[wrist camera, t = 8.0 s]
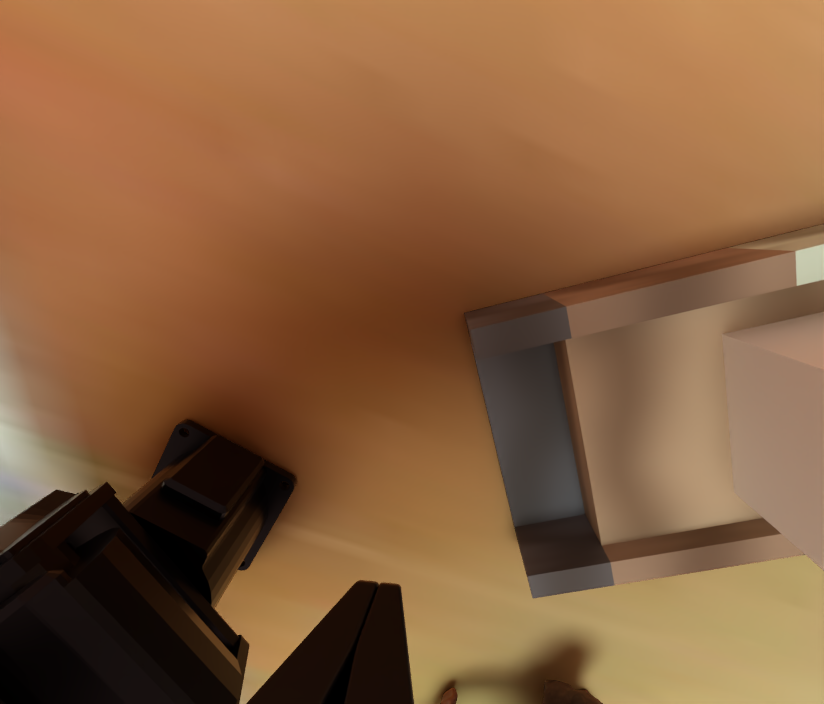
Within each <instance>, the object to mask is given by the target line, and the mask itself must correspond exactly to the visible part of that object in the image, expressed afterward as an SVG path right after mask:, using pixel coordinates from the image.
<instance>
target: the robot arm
mask: <svg viewBox="0 0 824 704" xmlns="http://www.w3.org/2000/svg"><path fill="white" fill-rule="evenodd" d="M184 428H186V429H187V430H188V431H189V434H188V433H186V432H185V431H184ZM283 481H285V482H287V483H288V484H289V486H286V485H284V484H283ZM296 484H297V481H296V478H295V477H294V476H293V475H292V474H290V473H289V472H287V471H285V470H283V469H281V468H279V467H277V466H275V465H274V464H272V463H270V462H268V461H266V460H264V459H262V458H261V457H260V456H258V455H256V454H254V453H252V452H250V451H248V450H247V449H245V448H243V447H241V446H239V445H237V444H235V443H234V442H232V441H230V440H228V439H226V438H224V437H222V436H220V435H217V434H215V433H214V432H212V431H210V430H208V429H206V428H204V427H202V426H200V425H199V424H197V423H195V422H193V421H190V420H184V421H182V422H180V423H179V424H178V425H177V426H176V427H175V428H174V431H173V433H172V435H171V437H170V439H169V441H168V444H167V446H166V448H165V450H164V452H163V455H162V457H161V459H160V461H159V463H158V465H157V468H156V470H155V472H154V474H153V476H152V479H151V480H150V481H149V482H147V483H146V484H145V485H144V486H143V487H142V488H140V489H139V490H138V491H137V492H136V493H135V494H133V495H132V496H131V497H130V498H129V499H127V500H126V501H125V502H124V503H123V504H122V503H121V502H120V501H119V500H118V499H117V498H116V497H115V495H114V494H115V493H116V492H115V490H114V489H113V488H112V487H111V486H110V485H109V484H108V482H105V483H104V484H102V485H100V486H99V487H97V488H95V489H94V490H92V491H91V492H89V493H88V492H87V490H84V491H82V492H81V493H77V494H73V493H69V492H64V491H60V490H55V491H53V492H52V493H50V494H49V495H47V496H46V497H44V498H43V499H41V500H40V501H38V502H37V503H35V504H34V505H32V506H31V507H29V508H28V509H26V510H25V511H23V512H22V513H20V514H19V515H17V516H16V517H14V518H13V519H11V520H10V521H8V522H7V523H5V524H4V525H2V526H1V527H0V704H239V701H240V696H241V690H242V684H243V679H244V673H245V667H246V662H247V656H248V650H249V643H248V642H247V641H246V640H245V639H244V638H243V637H242V635H237V634H236V633H235V632H234V631H233V630H232V629H231V627H230V626H229V625H228V624H227V623H226V622H225V621H224V619H223V618H222V617H221V616H220V615H219V614H218V613H217V611H216V610H215V609H214V608H215V607H216V605H217V603H218V602H219V600H220V598H221V597H222V595H223V593H224V592H225V590H226V588H227V587H228V585H229V583H230V582H231V580H232V578H233V577H234V575H235V573H236V572H237V570H246V569H247V568H248V567H249V566H250V564H251V563H252V561H253V559H254V557H255V556H256V554H257V552H258V550H259V549H260V547H261V545H262V544H263V542H264V540H265V538H266V537H267V535H268V533H269V531H270V530H271V528H272V526H273V525H274V523H275V521H276V519H277V518H278V516H279V514H280V513H281V511H282V509H283V507H284V506H285V504H286V502H287V500H288V499H289V497H290V495H291V494H292V492H293V490H294V488H295V487H296ZM243 560H244V561H243ZM247 704H414V699H413V690H412V681H411V672H410V664H409V655H408V646H407V637H406V628H405V619H404V611H403V602H402V593H401V587H400V585H399V584H393V583H380V584H378V583H377V582H374V581H365V580H359V581H357V582H356V583H355V584H354V585H353V586H352V587H351V588H350V589H349V590H348V591H347V593H346V594H345V595H344V596H343V597H342V598H341V599H340V600H339V601H338V603H337V604H336V605H335V606H334V607H333V608H332V609H331V610H330V611H329V613H328V614H327V615H326V616H325V617H324V618H323V619H322V620H321V621H320V623H319V624H318V625H317V626H316V627H315V628H314V629H313V630H312V631H311V633H310V634H309V635H308V636H307V637H306V638H305V639H304V640H303V641H302V643H301V644H300V645H299V646H298V647H297V648H296V649H295V650H294V651H293V652H292V654H291V655H290V656H289V657H288V658H287V659H286V660H285V661H284V662H283V664H282V665H281V666H280V667H279V668H278V669H277V670H276V671H275V672H274V674H273V675H272V676H271V677H270V678H269V679H268V680H267V681H266V682H265V684H264V685H263V686H262V687H261V688H260V689H259V690H258V691H257V692H256V694H255V695H254V696H253V697H252V698H251V699H250V700H249V701H248V702H247Z"/></svg>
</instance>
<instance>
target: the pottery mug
mask: <svg viewBox="0 0 824 704" xmlns="http://www.w3.org/2000/svg"><path fill="white" fill-rule="evenodd" d="M456 701H457V692H456V689H455V688H451V689H449V690H448V691H446V692H445V693H444V695H443V696H442V700H441V703H440V704H456ZM543 704H603V703H601V702H600V701H599V700H598V699H596V698H595V697H593V696H592V695H590V694H589V692H588V691H587V690H584V689H583V690H574V689H573V688H572V687H571V686H570V685H568V684H566V683H563V682H560V681H555V680H546V681H545V684H544V697H543Z"/></svg>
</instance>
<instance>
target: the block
mask: <svg viewBox="0 0 824 704" xmlns="http://www.w3.org/2000/svg"><path fill="white" fill-rule="evenodd" d="M722 340H723V353H724V366H725V379H726V392H727V406H728V419H729V432H730V445H731V458H732V472H733V485H734V493H735V494H736V495H738V496H739V497H740V498H741V499H742V500H743V501H744V502H746V503H747V504H748V505H749V506H750V507H751V508H752V509H754V510H755V511H756V512H757V513H758V514H759V515H761V516H762V517H763V518H764V519H765V520H766V521H767V522H769V523H770V524H771V525H772V526H773V527H774V528H776V529H777V530H778V531H779V532H780V533H781V534H782V535H784V536H785V537H786V538H787V539H788V540H789V541H790V542H792V543H793V544H794V545H795V546H796V547H797V548H799V549H800V550H801V551H802V552H803V553H804V554H805V555H807V556H808V557H809V558H810V559H811V560H812V561H813V562H815V563H816V564H817V565H818V566H819V567H820V568H822V569H823V570H824V312H821V313H816V314H812V315H807V316H803V317H798V318H794V319H789V320H784V321H780V322H775V323H771V324H766V325H762V326H757V327H753V328H748V329H743V330H739V331H734V332H730V333H725V334H722Z"/></svg>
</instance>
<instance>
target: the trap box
mask: <svg viewBox="0 0 824 704" xmlns="http://www.w3.org/2000/svg"><path fill="white" fill-rule="evenodd" d="M821 312H824V224H821V225H817V226H813V227H809V228H805V229H801V230H797V231H793V232H789V233H785V234H781V235H777V236H773V237H769V238H765V239H761V240H757V241H753V242H749V243H745V244H741V245H736V246H732V247H728V248H724V249H720V250H716V251H712V252H708V253H704V254H700V255H696V256H692V257H688V258H684V259H680V260H676V261H672V262H668V263H664V264H660V265H656V266H652V267H648V268H644V269H640V270H636V271H632V272H627V273H623V274H619V275H615V276H611V277H607V278H603V279H599V280H595V281H591V282H587V283H583V284H579V285H575V286H571V287H567V288H563V289H559V290H555V291H551V292H547V293H543V294H539V295H535V296H531V297H527V298H523V299H518V300H514V301H510V302H506V303H502V304H498V305H494V306H490V307H486V308H482V309H478V310H474V311H470V312H466V313H464V314H465V319H466V323H467V327H468V331H469V336H470V340H471V344H472V348H473V353H474V357H475V361H476V365H477V370H478V374H479V378H480V382H481V387H482V391H483V395H484V399H485V404H486V408H487V412H488V416H489V421H490V425H491V429H492V434H493V438H494V442H495V446H496V451H497V455H498V459H499V463H500V468H501V472H502V476H503V480H504V485H505V489H506V493H507V497H508V502H509V506H510V510H511V514H512V519H513V523H514V527H515V531H516V536H517V540H518V544H519V548H520V552H521V555H522V559H523V563H524V567H525V571H526V574H527V578H528V582H529V586H530V590H531V594H532V597H533V598H538V597H545V596H551V595H557V594H563V593H570V592H576V591H582V590H588V589H594V588H601V587H607V586H613V585H619V584H626V583H632V582H638V581H644V580H651V579H657V578H663V577H669V576H676V575H682V574H688V573H694V572H700V571H707V570H713V569H719V568H725V567H732V566H738V565H744V564H750V563H757V562H763V561H769V560H775V559H781V558H788V557H794V556H800V555H805V554H804V553H803V552H802V551H801V550H800V549H799V548H797V547H796V546H795V545H794V544H793V543H792V542H790V541H789V540H788V539H787V538H786V537H785V536H784V535H782V534H781V533H780V532H779V531H778V530H777V529H776V528H774V527H773V526H772V525H771V524H770V523H769V522H767V521H766V520H765V519H764V518H763V517H762V516H761V515H759V514H758V513H757V512H756V511H755V510H754V509H752V508H751V507H750V506H749V505H748V504H747V503H746V502H744V501H743V500H742V499H741V498H740V497H739V496H738V495H736V494H735V493H734V485H733V472H732V458H731V445H730V432H729V419H728V406H727V392H726V379H725V366H724V353H723V340H722V334H725V333H730V332H734V331H739V330H743V329H748V328H753V327H757V326H762V325H766V324H771V323H775V322H780V321H784V320H789V319H794V318H798V317H803V316H807V315H812V314H816V313H821Z"/></svg>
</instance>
